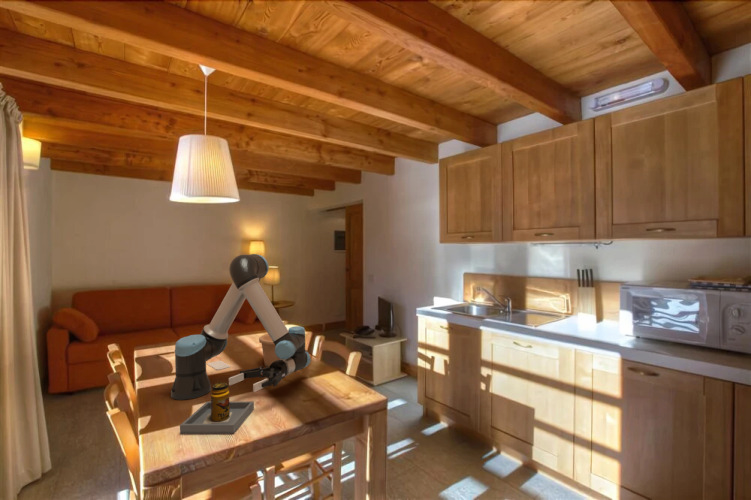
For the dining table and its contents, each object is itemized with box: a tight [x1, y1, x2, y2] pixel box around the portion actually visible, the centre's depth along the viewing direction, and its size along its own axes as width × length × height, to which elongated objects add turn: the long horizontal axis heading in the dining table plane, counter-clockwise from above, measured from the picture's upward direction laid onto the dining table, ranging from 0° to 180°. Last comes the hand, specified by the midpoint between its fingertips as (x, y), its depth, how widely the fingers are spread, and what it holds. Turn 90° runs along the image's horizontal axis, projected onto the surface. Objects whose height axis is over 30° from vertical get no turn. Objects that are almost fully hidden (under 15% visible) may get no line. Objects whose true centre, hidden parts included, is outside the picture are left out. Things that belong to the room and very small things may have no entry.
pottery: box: [258, 333, 280, 367], centre depth 189 cm, size 22×22×14 cm
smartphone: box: [206, 360, 231, 371], centre depth 187 cm, size 7×1×15 cm
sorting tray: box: [179, 400, 255, 435], centre depth 126 cm, size 18×18×3 cm
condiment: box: [203, 382, 232, 424], centre depth 126 cm, size 7×8×12 cm
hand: (241, 384), depth 134 cm, fingers open, 13 cm apart
